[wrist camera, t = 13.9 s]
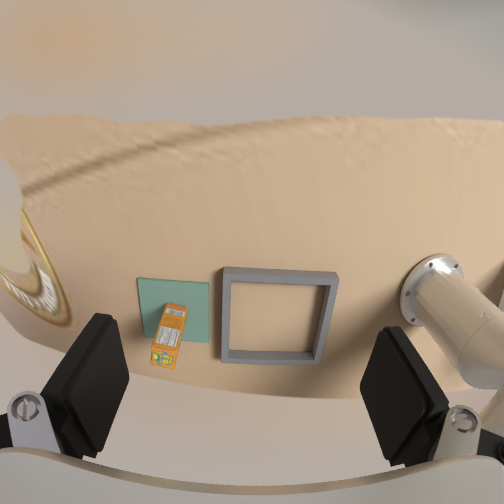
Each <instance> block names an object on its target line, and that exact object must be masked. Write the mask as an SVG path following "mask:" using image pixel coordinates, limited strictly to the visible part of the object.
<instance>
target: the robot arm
mask: <svg viewBox="0 0 504 504" xmlns="http://www.w3.org/2000/svg"><path fill="white" fill-rule="evenodd" d="M400 310H401V312H402V314H403V316H404V318H405V319H406V320H407V321H408V322H409V323H410V324H412V325H415V326H420V327H422V326H424V327H425V329H426V330H427V331H428V332H429V334H430V335H431V336H432V338H433V339H434V340H435V342H436V343H437V344H438V346H439V347H440V348H441V349H442V351H443V352H444V354H445V355H446V356H447V358H448V359H449V360H450V362H451V363H452V364H453V366H454V367H455V369H456V370H457V371H458V373H459V374H460V375H461V377H462V378H463V380H464V381H465V382H466V383H467V384H469V385H470V386H472V387H474V388H478V389H497V392H496V394H495V396H494V397H493V398H492V400H491V401H490V402H489V403H488V405H487V406H486V407H485V408H484V409H483V410H482V411H481V412H480V413H479V414H477V413H476V412H475V411H474V410H473V409H472V408H470V407H467V406H464V405H456V406H454V407H452V408H451V409H450V408H449V406H448V404H449V401H448V399H447V398H446V396H445V394H444V393H443V391H442V389H441V388H440V386H439V385H438V383H437V381H436V380H435V378H434V377H433V375H432V373H431V372H430V370H429V369H428V367H427V366H426V364H425V363H424V361H423V360H422V358H421V356H420V355H419V353H418V352H417V350H416V349H415V347H414V346H413V344H412V343H411V342H410V340H409V339H408V337H407V336H406V334H405V333H404V331H403V330H402V328H401V327H399V326H395V327H385V328H384V329H383V331H380V332H379V334H378V336H377V339H376V342H375V345H374V348H373V351H372V354H371V356H370V359H369V362H368V364H367V367H366V370H365V372H364V375H363V377H362V380H361V383H360V392H361V395H362V397H363V400H364V403H365V405H366V408H367V410H368V413H369V416H370V419H371V421H372V424H373V427H374V430H375V433H376V435H377V438H378V441H379V444H380V447H381V449H382V453H383V455H384V458H385V459H386V460H389V462H390V465H391V467H392V466H395V465H400V464H404V465H405V467H406V468H402V469H397V470H393V471H389V472H384V473H379V474H375V475H369V476H364V477H358V478H352V479H346V480H338V481H332V482H322V483H313V484H299V485H281V486H233V485H216V484H204V483H193V482H185V481H177V480H170V479H164V478H157V477H152V476H146V475H142V474H136V473H132V472H128V471H123V470H119V469H115V468H110V467H106V466H103V465H99V464H95V463H91V462H88V461H85V460H82V458H83V455H86V456H89V457H92V458H96V455H97V453H98V452H101V451H102V450H103V448H104V445H105V442H106V439H107V436H108V434H109V431H110V428H111V426H112V423H113V420H114V418H115V415H116V413H117V410H118V408H119V405H120V402H121V400H122V397H123V395H124V392H125V390H126V387H127V385H128V382H129V372H128V368H127V364H126V360H125V356H124V352H123V347H122V343H121V339H120V334H119V329H118V324H117V321H116V320H115V319H113V317H112V316H111V315H109V314H101V313H95V314H94V316H93V317H92V318H91V320H90V321H89V322H88V324H87V325H86V326H85V328H84V329H83V331H82V332H81V333H80V335H79V336H78V338H77V339H76V340H75V342H74V343H73V345H72V346H71V348H70V349H69V351H68V352H67V353H66V355H65V357H64V358H63V360H62V361H61V362H60V364H59V365H58V367H57V368H56V370H55V372H54V373H53V374H52V376H51V378H50V379H49V381H48V382H47V384H46V385H45V387H44V389H43V390H42V392H41V393H40V395H39V394H38V393H36V392H32V391H24V392H21V393H19V394H17V395H15V396H14V397H13V398H12V399H11V400H10V402H9V404H8V407H7V413H6V414H3V415H0V504H504V312H502V311H501V310H500V309H499V308H498V307H497V306H496V305H495V304H493V303H492V302H491V301H490V300H489V299H488V298H487V297H485V296H484V295H483V294H482V293H481V292H480V291H479V289H478V287H474V286H473V285H471V284H470V283H469V282H468V281H466V280H465V279H464V272H463V269H462V267H461V265H460V263H459V262H458V261H457V260H456V259H454V258H453V257H451V256H449V255H446V254H438V255H433V256H431V257H428V258H427V259H425V260H423V261H422V262H421V263H419V264H418V265H417V266H416V267H415V268H414V269H413V270H412V271H411V273H410V274H409V276H408V277H407V279H406V281H405V283H404V285H403V287H402V290H401V294H400Z"/></svg>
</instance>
